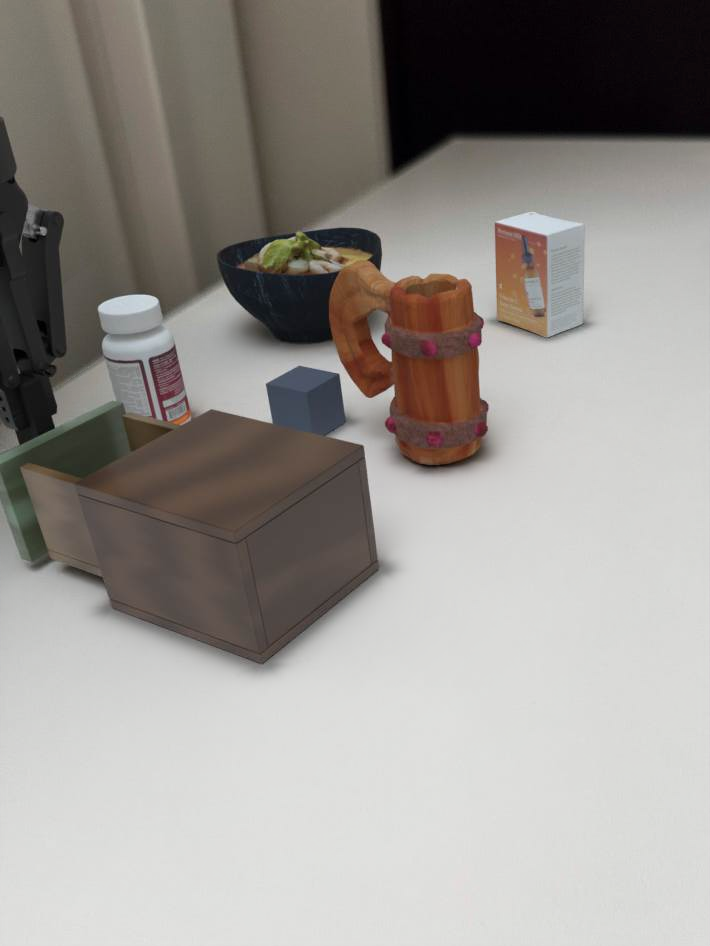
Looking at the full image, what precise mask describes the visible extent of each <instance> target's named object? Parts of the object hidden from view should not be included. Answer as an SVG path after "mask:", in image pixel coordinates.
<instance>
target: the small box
mask: <svg viewBox="0 0 710 946" xmlns="http://www.w3.org/2000/svg"><path fill="white" fill-rule="evenodd" d="M585 232H586V225H585V223H582V222H576V221H575V222H574V221H570V220H565V219H561V218H557V217H553V216H549V215H545V214H541V213H538V212H535V211H528V212H525V213H521V214H518V215H514V216H511V217H507V218H503V219H500V220H496V221H495V222H494V247H495V248H494V252H495V253H494V255H495V292H496V294H495V295H496V296H495V297H496V319H497V321H500V322H503V323H507V324H510V325H511V326H515V327H518V328H521V329H523V330H525V331H528V332H531V333H533V334H535V335H539V336H541V337H544V338H546V339H548V338H550V337H553V336H555V335H557V334H561V333H562V332H566V331H568V330H571V329H574V328H576V327H579V326H581V325H583V324H584V295H585V293H584V292H585V291H584V290H585V249H586V248H585V247H586V245H585V244H586V243H585V241H586V233H585Z"/></svg>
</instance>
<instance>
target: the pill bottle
mask: <svg viewBox="0 0 710 946" xmlns="http://www.w3.org/2000/svg"><path fill="white" fill-rule="evenodd" d="M97 312H98V317H99V321H100V326H101V329H102V331H104V332H105V333H107V334H106V335H105V336H104V337H103V340H102V342H101V348H102V349H101V350H102V354H103V357H104V361H105V364H106V369H107V372H108V376H109V380H110V384H111V387H112V391H113V394H114V398H115V401H117V402H121V403H123V404H124V408H125V411H126V414H127V413H129V412H131V413H135V414H139V415H142V416H146V417H150V418H154V419H158V420H162V421H166V422H170V423H174V424H178V425H183V424H185V423H187V422H188V421H190V420H192V412H191V407H190V403H189V398H188V395H187V390H186V387H185V381H184V376H183V373H182V369H181V364H180V359H179V356H178V351H177V345H176V342H175V339H174V335H173V333H172V331H171V330H170V329H169V328H168V327H167V326H165V325H162V323H163V321H164V316H163V313H162V309H161V304H160V300H159V299H158V298H157V297H155V296H154V295H149V294H128V295H121V296H116V297H113V298H110V299H108V300H105V301H103V302H102V303H100V304H99V305H98V307H97Z"/></svg>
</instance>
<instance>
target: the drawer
mask: <svg viewBox="0 0 710 946" xmlns="http://www.w3.org/2000/svg"><path fill="white" fill-rule="evenodd" d="M179 426H181V425H178V424H174V423H170V422H166V421H162V420H158V419H154V418H150V417H146V416H142V415H139V414H135V413H131V412H129V413H127V414H126V411H125V408H124V404H123V403H121V402H117V401H116V400H113V399H112V400H110V401H108V402H105V403H104V404H102V405H100V406H97V407H96V408H94V409H92V410H90V411H87V412H85V413H83V414H82V415H81V414H80V415H79V416H77V417H74V418H73V419H71V420H69V421H67V422H65V423H63V424H61V425H59V426H56V427H55V429H52V430H50V431H48V432H46V433H44V434H42V435H40V436H38V437H36V438H34V439H32V440H30V441H28V442H26V443H24V444H22V445H19V444H17V445H15V446H13V447H11V448H9V449H8V450H5V451H3V452H1V453H0V503H1V506H2V509H3V512H4V515H5V517H6V520H7V523H8V526H9V529H10V532H11V534H12V537H13V540H14V543H15V546H16V548H17V551H18V554H19V556H20V559H22V560H25V561H26V562H29V563H33V562H35V561H37V560H39V559H40V558H42V557H43V556H45V555H47V554H48V555H49V559H51V560H54V561H56V562H59V563H61V564H65V565H67V566H70V567H73V568H76V569H78V570H81V571H84V572H87V573H89V574H92V575H95V576H98V577H101V578H103V577H102V574H101V570H100V567H99V564H98V561H97V557H96V554H95V551H94V548H93V544H92V541H91V538H90V535H89V531H88V528H87V525H86V522H85V518H84V515H83V512H82V509H81V505H80V502H79V499H78V496H77V492H76V489H75V486H74V483H75V482H77V481H79V480H81V479H83V478H84V477H86V476H88V475H90V474H92V473H94V472H96V471H97V470H99V469H101V468H103V467H105V466H107V465H109V464H110V463H112V462H114V461H116V460H118V459H120V458H122V457H123V456H125V455H127V454H129V453H131V452H133V451H135V450H136V449H138V448H140V447H142V446H144V445H146V444H148V443H149V442H151V441H153V440H155V439H157V438H159V437H161V436H162V435H164V434H166V433H168V432H170V431H172V430H174V429H175V428H177V427H179Z"/></svg>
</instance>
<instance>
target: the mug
mask: <svg viewBox="0 0 710 946" xmlns="http://www.w3.org/2000/svg"><path fill="white" fill-rule="evenodd" d="M472 288H473V286H472V284H471V282H470V281H469V280H468V279H467V278H460V279H458V278H457V277H456V276H454V275H451V274H449V273H429V274H428V275H427V276H426V277H425V278H422V277H421V276H419V275H410V276H407V277H404V278H401V279H399V280H397V281H396V282H395V281H392V280H390V279H388V277H386V276H385V275H384V274H383V273H382V271H381V270H380V271H379V270H378V269H377V268H376V267H375V265H374V264H372V263H371V262H370V261H365V260H360V261H357V262H355V263H353V264H350V265H348V266H346V267H344V268H343V269H341V271H340V272H339V274H338V276H337V278H336V280H335V282H334V285H333V287H332V290H331V294H330V299H329V321H330V326H331V331H332V336H333V339H332V340H333V344H334V346H335V350H336V352H337V355H338V357H339V361H340V363H341V365H342V366H343V368H344V370H345V371H346V373H347V374H348V377H349V378H350V380H351V381H352V382H353V383H354V385H355V386H356V387H357V389H358V391H360V392H361V393H362V394H363V396H364V397H366V398H368V399H373V398H375V397H376V396H379V395H380V394H382V393H384V392H386V391H388V390H389V389H390V388H391V387H392V386H393V387H394V389H393V390H394V396H393V397H392V399H391V401H390V405H389V416H388V417H387V418H386V419H385V421H384V427H385V428H386V430H387V431H388V432H390V433H391V434H394V435H395V436H394V437H395V439H394V440H395V444H396V446H397V448H398V449H399V451H400V453H401V454H403V455H404V456H406V458H408V459H410V460H411V461H412V462H415V463H417V464H420V465H426V466H427V465H428V466H433V465H435V466H442V465H449V464H452V463H456V462H459V461H462V460H465V459H466V458H468V457H470V456H473V455H474V454H475V453H476V452H477V451H478V450H479V448H481V446H482V445H483V444H482V443H483V437H484V436H486V434H487V433H488V431H489V427H488V425H487V424H488V418H487V417H488V412H489V407H490V405H489V403H488V402H487V400H485V399H483V398H481V393H480V392H481V391H480V390H481V388H480V374H479V373H480V355H479V354H480V353H479V348H478V347H480V346H481V345H482V342H483V340H482V339H483V336H482V335H483V332H482V329H483V328H484V326H485V321H484V318H483V317H482V316H481V315H479V314H478V313H477V312H476V311H475V307H474V297H473V295H474V294H473V289H472ZM376 311H381V312H384V313H386V314H387V318H386V320H385V322H384V333H382V335H381V337H380V340H381V343H382V345H383V346H385V347H387V348H388V349H390V350H391V361H390V360H388V359H387V358H386V357H385V356H384V355H383V354H381V352H380V350H379V349H378V347H377V345H376V343H375V342H374V340H373V337H372V333H371V328H370V323H369V319H368V316H370V315H371V314H373V313H375V312H376Z"/></svg>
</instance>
